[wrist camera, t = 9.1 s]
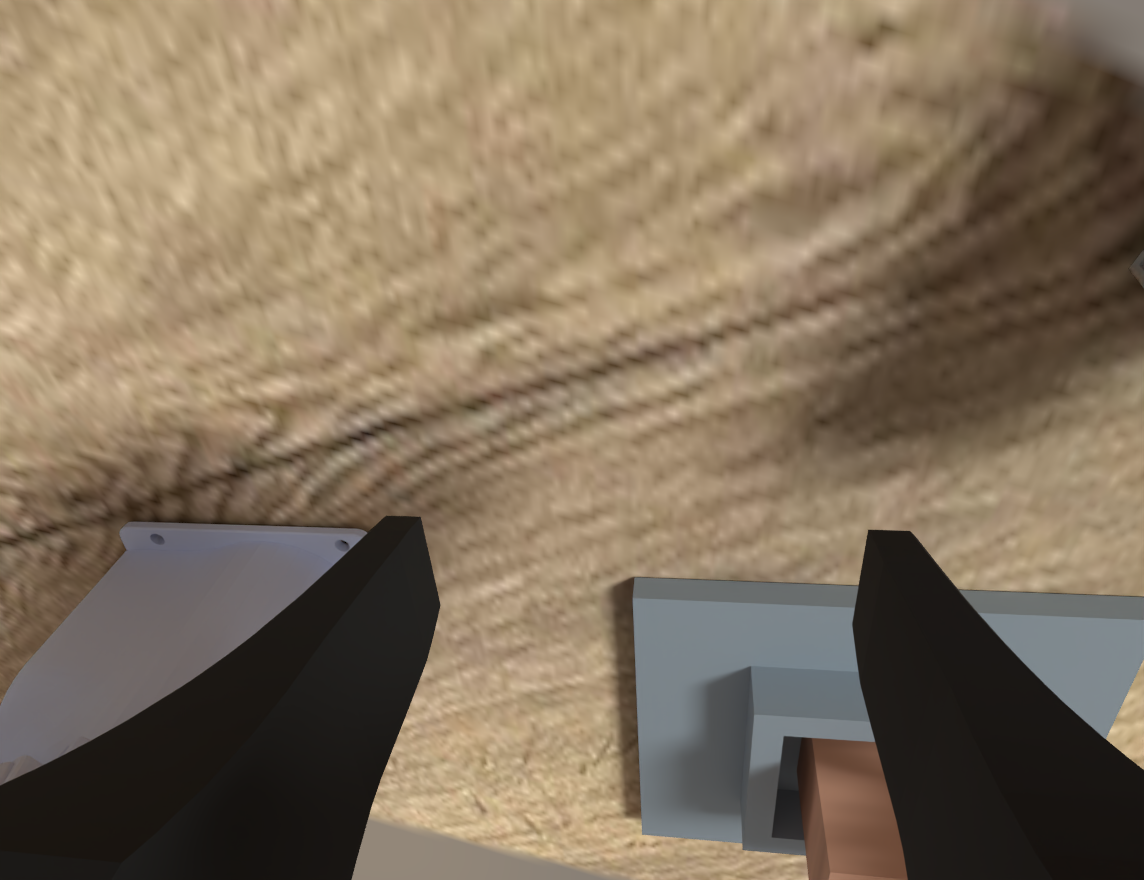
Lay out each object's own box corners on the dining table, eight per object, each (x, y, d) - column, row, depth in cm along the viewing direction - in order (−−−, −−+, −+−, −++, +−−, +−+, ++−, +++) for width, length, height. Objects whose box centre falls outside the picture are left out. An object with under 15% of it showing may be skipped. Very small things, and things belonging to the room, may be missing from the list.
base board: (643, 812, 35) (639, 881, 32) (634, 577, 27) (628, 644, 25) (1035, 845, 32) (1062, 922, 30) (1146, 597, 25) (1196, 673, 22)
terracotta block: (796, 771, 30) (815, 939, 25) (807, 702, 28) (830, 872, 23) (906, 779, 30) (948, 953, 25) (926, 710, 27) (976, 885, 23)
